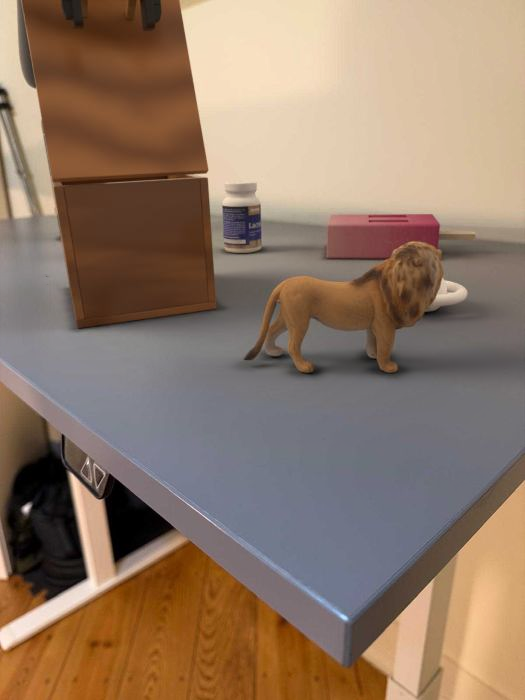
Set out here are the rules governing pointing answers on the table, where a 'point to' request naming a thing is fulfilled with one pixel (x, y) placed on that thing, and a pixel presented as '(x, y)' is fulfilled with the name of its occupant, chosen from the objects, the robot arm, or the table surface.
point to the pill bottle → (241, 217)
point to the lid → (114, 91)
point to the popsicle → (383, 234)
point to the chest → (136, 247)
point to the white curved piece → (448, 295)
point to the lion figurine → (356, 304)
